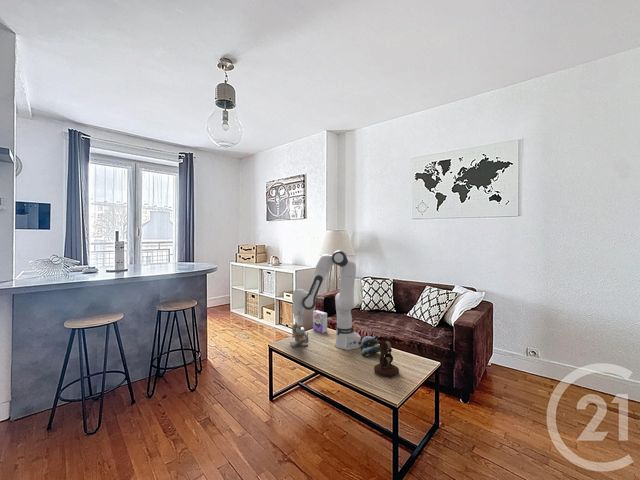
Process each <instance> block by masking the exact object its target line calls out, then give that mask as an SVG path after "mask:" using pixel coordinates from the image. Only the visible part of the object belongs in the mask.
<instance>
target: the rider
mask: <svg viewBox="0 0 640 480" xmlns="http://www.w3.org/2000/svg"><path fill="white" fill-rule="evenodd" d="M304 331H305V328H304V326H303V327H299V328H296V334H297V335H304Z"/></svg>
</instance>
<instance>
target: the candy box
mask: <svg viewBox="0 0 640 480" xmlns="http://www.w3.org/2000/svg"><path fill="white" fill-rule="evenodd" d="M312 330H314V331H316V332H318V333H321V334H324V333H328V313H327V312H324V311H320V310H318V309H316V310H313V311H312Z"/></svg>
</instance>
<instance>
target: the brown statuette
mask: <svg viewBox="0 0 640 480" xmlns="http://www.w3.org/2000/svg"><path fill="white" fill-rule="evenodd" d="M379 345H380V348H381V350H380V352H379V363H376V364H375V365H374V367H373V370H374V373H375V374H378V375H380V376H385V377H389V379H391V378H392V377H394V376H397V375H399V373H400V368H399V367H398V366H397V365H395V364H393V363H392V362H393V361H394V357H393V355H392V351H393V350H392V349H393V348H392V347H393V346H394V341H393V340H392V339H391V338H389V337H387V338H385V339H384V340H382V341H380V342H379Z"/></svg>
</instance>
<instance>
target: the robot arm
mask: <svg viewBox="0 0 640 480" xmlns="http://www.w3.org/2000/svg"><path fill="white" fill-rule="evenodd" d="M333 265H336V266H339V267H340V268H341V271H340V278H339V284H338V285H339V286H338V287H339V292H338V293H336V294H335V297H334V300H335V311H336V329H335V331H336V338H335V339H336V340H335V344H334V346H335V347H336V348H338V349H342V350H347V351H350V350H356V349H360V347H359V345H358V341H360V339H361V337H362V336H361V335H360V334H359V333H358V332H356V331H357V328H356V327H354V326H352V325H353V323H352V322H353V321H352V319H353V318H352V316H353V315H352V312H351V310H353V308H354V307H355V301H354V297H355V296H354V295H355V280H356V273H357V265H356V263H355V262H354V261H352V260H349V259H348V255H347V253H346V252H345V251H344V250H342V249H338V250H336V251H334V252H333V253H332V254H328V253H324V254H322V255H321V256H320V257H319V260H318V261H317V262H316V265H315V268H314V272H313V277H312V283H311V286H310V289H309V291H306V290H304V288H297V289H294V290H293V291H292V298H291V299H292V314H293V319H294V320H295V321H294V322H296V323H295V324H297V328H299V327H300V326H302V325H303V326H304V319H303V318H304V317H303V314H305V310H307V311H310V310H311V311H312V310H313V309H314V308H315V307H316V301H317V295H318V293H319V290H320V288H321V286H322V285H323V283H324V282H325V280H327V277H328V276H329V274H330V272H331V269H332V267H333Z"/></svg>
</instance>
